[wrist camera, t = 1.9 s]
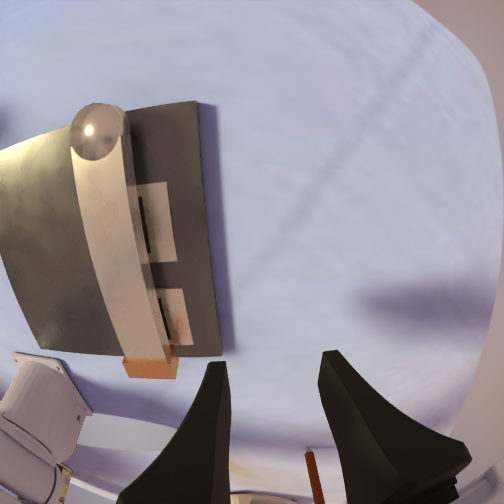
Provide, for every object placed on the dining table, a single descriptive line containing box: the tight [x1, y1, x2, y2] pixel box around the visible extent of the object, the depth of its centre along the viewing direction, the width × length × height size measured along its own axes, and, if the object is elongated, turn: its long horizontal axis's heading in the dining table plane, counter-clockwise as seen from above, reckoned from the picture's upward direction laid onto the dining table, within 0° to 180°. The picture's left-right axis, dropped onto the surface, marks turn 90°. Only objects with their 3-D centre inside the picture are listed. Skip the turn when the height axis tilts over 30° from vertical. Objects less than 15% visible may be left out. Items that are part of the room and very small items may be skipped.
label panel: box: [0, 101, 222, 357], centre depth 17 cm, size 18×18×2 cm
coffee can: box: [17, 463, 73, 504], centre depth 30 cm, size 10×10×14 cm
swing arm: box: [70, 103, 179, 379], centre depth 15 cm, size 18×4×2 cm, turn 2°
